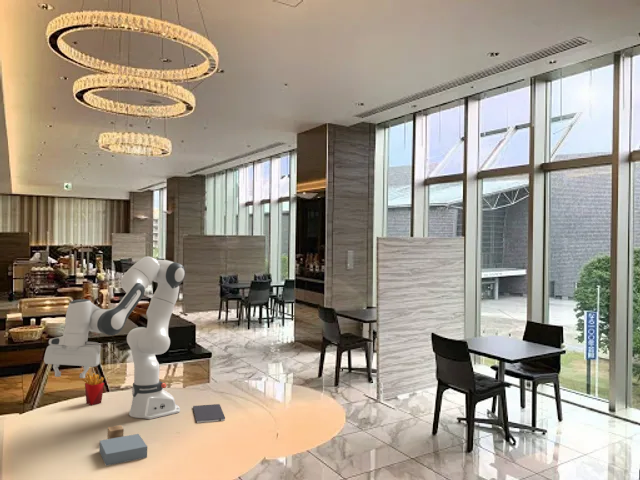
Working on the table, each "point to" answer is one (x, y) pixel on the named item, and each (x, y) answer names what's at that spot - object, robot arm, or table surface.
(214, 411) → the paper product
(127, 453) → the slate plinth
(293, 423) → the table surface
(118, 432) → the walnut cube
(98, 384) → the french fries
